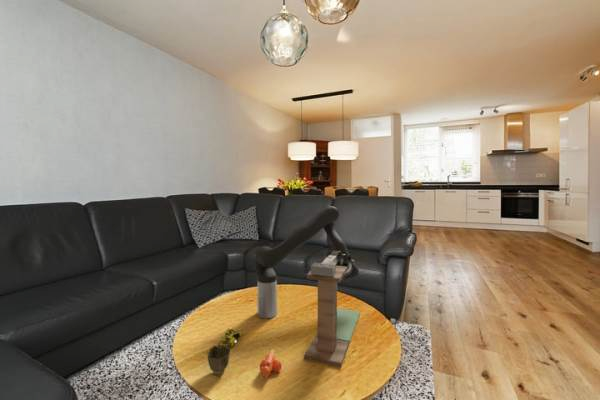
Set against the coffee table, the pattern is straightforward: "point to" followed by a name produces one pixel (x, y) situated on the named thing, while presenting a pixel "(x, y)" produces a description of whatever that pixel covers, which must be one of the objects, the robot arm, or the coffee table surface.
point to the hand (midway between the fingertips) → (334, 253)
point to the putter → (326, 265)
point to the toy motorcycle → (230, 337)
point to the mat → (346, 324)
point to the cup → (218, 359)
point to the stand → (327, 322)
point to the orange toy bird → (270, 365)
